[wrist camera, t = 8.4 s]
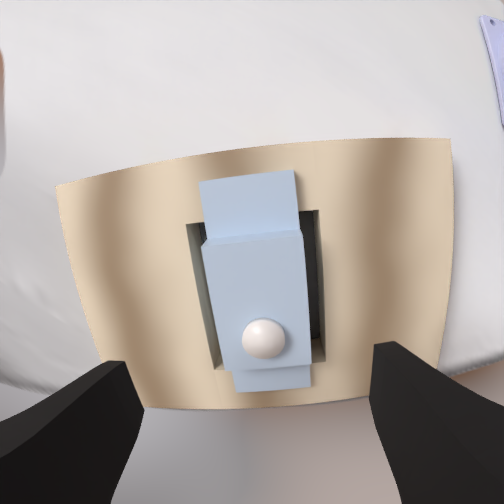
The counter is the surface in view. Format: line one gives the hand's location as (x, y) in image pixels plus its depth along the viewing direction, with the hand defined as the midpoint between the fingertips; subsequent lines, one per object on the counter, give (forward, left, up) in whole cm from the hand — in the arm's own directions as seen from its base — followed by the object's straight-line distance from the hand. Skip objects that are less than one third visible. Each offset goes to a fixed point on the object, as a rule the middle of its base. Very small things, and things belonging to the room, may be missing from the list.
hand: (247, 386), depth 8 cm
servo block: (0, 0, -10) cm, 10 cm away
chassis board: (0, 0, -9) cm, 9 cm away
